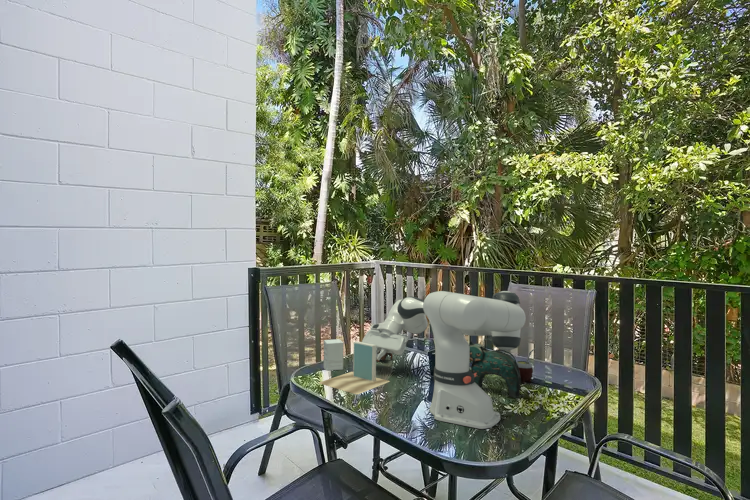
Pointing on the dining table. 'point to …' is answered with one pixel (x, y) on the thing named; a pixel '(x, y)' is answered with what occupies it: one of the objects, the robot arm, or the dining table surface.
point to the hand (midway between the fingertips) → (375, 358)
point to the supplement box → (333, 354)
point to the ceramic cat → (495, 367)
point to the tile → (364, 361)
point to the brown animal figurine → (384, 356)
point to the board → (353, 383)
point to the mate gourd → (525, 370)
